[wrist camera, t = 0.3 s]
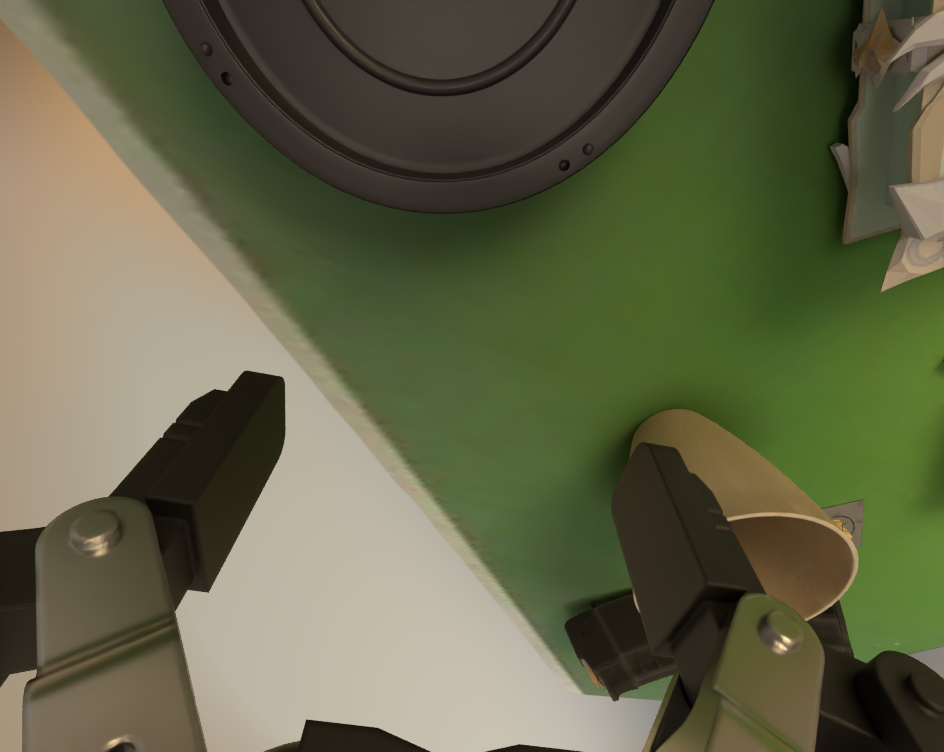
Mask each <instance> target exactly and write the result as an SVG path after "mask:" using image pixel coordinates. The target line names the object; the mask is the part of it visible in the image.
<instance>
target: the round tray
mask: <svg viewBox="0 0 944 752" xmlns="http://www.w3.org/2000/svg"><path fill="white" fill-rule="evenodd" d="M162 1H163V3H164V5H165V7H166V9H167V11H168V13H169V15H170V17H171V18H172V20H173V22H174V24H175V26H176V27H177V29H178V31H179V33H180V34H181V36H182V38H183V39H184V41H185V43H186V44H187V46H188V48H189V49H190V51H191V52H192V54H193V55H194V57H195V58H196V60H197V61H198V63H199V64H200V66H201V67H202V69H203V70H204V72H205V73H206V74H207V76H208V77H209V78H210V80H211V81H212V82H213V84H214V85H215V86H216V88H217V89H218V90H219V91H220V92H221V94H222V95H223V96H224V97H225V99H226V100H227V101H228V102H229V103H230V104H231V106H232V107H233V108H234V109H235V110H236V111H237V112H238V113H239V114H240V116H241V117H242V118H243V119H244V120H245V121H246V122H247V123H248V124H249V125H250V126H251V127H252V128H253V129H254V130H255V131H256V132H257V133H258V134H259V135H260V136H262V137H263V138H264V139H265V140H266V141H267V142H268V143H269V144H271V145H272V146H273V147H274V148H275V149H277V150H278V151H279V152H280V153H282V154H283V155H284V156H285V157H287V158H288V159H289V160H291V161H292V162H293V163H295V164H296V165H298V166H299V167H301V168H302V169H304V170H305V171H307V172H308V173H310V174H312V175H313V176H315V177H316V178H318V179H320V180H322V181H324V182H325V183H327V184H329V185H331V186H333V187H335V188H337V189H339V190H341V191H343V192H346V193H348V194H350V195H353V196H355V197H358V198H360V199H363V200H366V201H369V202H372V203H375V204H378V205H382V206H386V207H390V208H394V209H399V210H404V211H411V212H419V213H430V214H457V213H469V212H477V211H483V210H489V209H493V208H497V207H501V206H505V205H509V204H512V203H515V202H518V201H521V200H524V199H526V198H529V197H531V196H534V195H536V194H539V193H541V192H543V191H545V190H547V189H549V188H551V187H553V186H555V185H557V184H559V183H561V182H562V181H564V180H566V179H567V178H569V177H571V176H572V175H574V174H575V173H577V172H579V171H580V170H582V169H583V168H584V167H586V166H587V165H589V164H590V163H591V162H593V161H594V160H595V159H597V158H598V157H599V156H600V155H602V154H603V153H604V152H605V151H606V150H608V149H609V148H610V147H611V146H612V145H613V144H614V143H616V142H617V141H618V140H619V139H620V138H621V137H622V136H623V135H624V134H625V133H626V132H627V131H628V130H629V129H630V128H631V127H632V126H633V125H634V124H635V123H636V122H637V121H638V120H639V118H640V117H641V116H642V115H643V114H644V113H645V112H646V110H647V109H648V108H649V107H650V106H651V104H652V103H653V102H654V101H655V99H656V98H657V97H658V96H659V94H660V93H661V92H662V90H663V89H664V88H665V86H666V85H667V83H668V82H669V81H670V79H671V78H672V76H673V75H674V73H675V72H676V70H677V69H678V67H679V66H680V64H681V63H682V61H683V59H684V58H685V56H686V54H687V53H688V51H689V49H690V48H691V46H692V44H693V42H694V41H695V39H696V37H697V35H698V33H699V31H700V29H701V28H702V26H703V24H704V22H705V20H706V18H707V16H708V14H709V11H710V9H711V7H712V5H713V3H714V1H715V0H162Z"/></svg>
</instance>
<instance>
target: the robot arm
mask: <svg viewBox="0 0 944 752" xmlns="http://www.w3.org/2000/svg"><path fill="white" fill-rule="evenodd" d="M284 440H285V382H284V379H283V378H282V377H280V376H274V375H269V374H263V373H257V372H251V371H244V372H243V373H242V374H241V375H240V376H239V378H238V379H237V380H236V381H235V383H234V384H233V385H232V387H231V388H230V389H229V390H228V391H222V390H216V389H214V390H212V391H210V392H209V393H207V394H205V395H204V396H202V397H200V398H198V399H196V400H194V401H193V402H191V403H190V404H189V406H187V408H186V409H185V410H184V411H183V412H182V413H181V414H180V416H179V417H178V418H177V419H176V423H173V424H172V425H171V426H170V427H169V428H168V429H167V431H166V432H165V433H164V436H163V438H160V439H159V440H158V441H157V442H156V443H155V444H154V445H153V447H152V448H151V449H150V450H149V451H148V452H147V453H146V455H145V456H144V457H143V458H142V459H141V460H140V461H139V463H138V464H137V465H136V466H135V467H134V468H133V470H132V471H131V472H130V473H129V474H128V475H127V476H126V477H125V479H124V480H123V481H122V482H121V483H120V484H119V485H118V487H117V488H116V489H115V490H114V491H113V492H112V493H111V494H110V496H108V497H104V498H98V499H94V500H90V501H87V502H84V503H81V504H79V505H77V506H74V507H73V508H71V509H69V510H67V511H65V512H64V513H62V514H61V515H59V516H58V517H56V518H55V519H54V520H53V521H52V522H50V523H49V524H48V525H47V527H41V528H34V529H24V530H15V531H5V532H0V687H1V686H2V684H3V683H4V681H5V680H6V679H7V677H8V676H9V674H14V673H19V672H25V671H30V670H35V669H37V675H36V677H35V678H34V679H31V680H29V681H28V682H27V684H26V687H25V690H24V696H23V711H22V713H23V714H22V716H23V717H22V723H23V724H22V725H23V726H22V736H23V737H22V752H207V748H206V743H205V739H204V735H203V731H202V727H201V722H200V718H199V713H198V709H197V705H196V700H195V696H194V692H193V688H192V683H191V679H190V674H189V670H188V666H187V662H186V657H185V653H184V648H183V644H182V640H181V635H180V631H179V627H178V622H177V618H176V613H175V611H176V609H177V607H178V606H179V604H180V602H181V600H182V599H183V597H184V595H185V593H186V592H187V590H194V591H201V592H208V593H209V591H210V589H211V587H212V585H213V583H214V581H215V579H216V577H217V575H218V574H219V572H220V570H221V568H222V566H223V564H224V562H225V560H226V558H227V556H228V554H229V553H230V551H231V549H232V547H233V545H234V543H235V541H236V539H237V537H238V535H239V534H240V532H241V530H242V528H243V526H244V524H245V522H246V520H247V518H248V517H249V515H250V513H251V511H252V509H253V507H254V505H255V503H256V501H257V499H258V498H259V496H260V494H261V492H262V490H263V488H264V486H265V484H266V482H267V480H268V479H269V476H270V474H271V473H272V471H273V469H274V467H275V465H276V463H277V461H278V459H279V457H280V455H281V452H282V448H283V445H284ZM612 515H613V519H614V522H615V526H616V529H617V533H618V536H619V540H620V544H621V547H622V551H623V554H624V558H625V561H626V565H627V569H628V572H629V576H630V579H631V583H632V586H633V590H634V594H635V597H636V601H637V604H638V608H639V611H640V615H641V619H642V622H643V626H644V629H645V633H646V636H647V640H648V644H649V647H650V651H651V654H652V655H654V656H661V657H668V658H675V661H676V664H677V667H678V671H677V672H676V673H675V675H674V676H673V677H672V679H671V682H670V684H669V686H668V689H667V691H666V694H665V696H664V699H663V701H662V704H661V706H660V709H659V711H658V714H657V716H656V719H655V721H654V724H653V726H652V729H651V731H650V734H649V736H648V739H647V741H646V744H645V746H644V748H643V751H642V752H944V679H943V678H942V677H940V676H939V675H938V674H937V673H936V672H935V671H933V670H932V669H930V668H929V667H928V666H926V665H925V664H923V663H922V662H920V661H918V660H916V659H915V658H913V657H910V656H908V655H906V654H904V653H900V652H897V651H884V652H881V653H880V654H878V655H877V656H876V657H874V658H873V659H872V660H871V661H869V662H868V663H864V662H862V661H860V660H858V659H855V658H853V657H851V656H849V655H846V654H844V653H842V652H839V651H837V650H835V649H833V648H830V647H828V646H826V645H824V644H821V642H820V640H819V638H818V636H817V635H816V633H815V632H814V630H813V629H812V627H811V626H810V625H809V624H808V623H807V622H806V620H805V619H804V618H803V617H802V616H801V615H800V614H798V613H797V612H796V611H795V610H794V609H792V608H791V607H790V606H788V605H787V604H785V603H784V602H782V601H780V600H778V599H776V598H774V597H772V596H769V595H767V594H766V592H765V590H764V588H763V586H762V584H761V582H760V581H759V579H758V577H757V575H756V573H755V571H754V569H753V567H752V565H751V564H750V562H749V560H748V558H747V556H746V554H745V552H744V550H743V548H742V547H741V545H740V543H739V541H738V539H737V537H736V535H735V533H734V532H731V529H732V528H731V526H730V524H729V522H728V520H727V518H726V516H723V511H722V509H721V507H720V505H719V503H718V501H717V499H716V497H715V496H714V494H713V492H712V491H711V490H710V489H709V488H708V487H707V486H706V485H705V483H704V482H703V481H702V480H701V479H700V478H699V477H698V476H697V475H696V474H695V473H689V471H688V469H687V467H686V465H685V463H684V461H683V459H682V457H681V455H680V453H679V451H678V450H677V449H676V448H674V447H669V446H663V445H658V444H652V443H646V442H641V443H639V444H638V445H637V446H636V448H635V450H634V452H633V454H632V455H631V457H630V459H629V461H628V463H627V465H626V467H625V469H624V471H623V473H622V475H621V477H620V479H619V481H618V483H617V485H616V487H615V489H614V492H613V496H612ZM264 752H430V751H428V750H426V749H423V748H421V747H419V746H417V745H415V744H412V743H410V742H408V741H406V740H403V739H401V738H399V737H397V736H394V735H392V734H390V733H388V732H386V731H383V730H381V729H379V728H374V727H366V726H357V725H349V724H340V723H331V722H322V721H314V720H306V723H305V726H304V730H303V733H302V737H301V741H297V742H292V743H288V744H284V745H281V746H278V747H275V748H273V749H269V750H267V751H264ZM487 752H580V751H571V750H563V749H555V748H546V747H538V746H529V745H520V744H519V745H515V746H510V747H505V748H501V749H496V750H491V751H487Z"/></svg>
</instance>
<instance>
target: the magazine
mask: <svg viewBox="0 0 944 752" xmlns="http://www.w3.org/2000/svg"><path fill="white" fill-rule="evenodd" d="M590 604H591V606H592V608H591V609H589V610H587V611H585V612H583V613H581V614H579V615H577V616H575V617H573V618H571V619H569V620H567V622H566V623H565V630H566V633H567V635H568V637H569V639H570V642H571V644H572V646H573V648H574V651H575V653H576V655H577V657H578V659H579V660H580V662H581V664H582V666H583V667H585V669H586V671H587V672H588V674H589V676H590V678H591V679H592V681H593V682H594V684H595V685H596V687H597V688H598V689H599V690H600V684H599V681H600V683H601V684H602V685H603V686H604V687H605V688H606V689H607V690H608V692H609V694H610V696H611V698H612V700H613V701H617V700H619V695H621V694H622V693H624V692H626V691H630V690H634V689H638V687H639V686H642V685H645V684H647V683H650V682H653V681H655V680H658V679H661V678H664V677H667V676H670V675H674V674H675V673H676V672H677V671H678V667H677V664H676V661H675V658H668V657H661V656H654V655H652V654H651V651H650V647H649V644H648V640H647V636H646V633H645V629H644V626H643V622H642V619H641V615H640V612H639V611H638V609H637V607H636V605H635V602H634V598H633V593H631V594H628V595H625V596H622V597H620V598H617V599H614V600H611V601H609V602H606V603H604V604H601V605H599V606H597V605H596V604H595V603H594V602H592V601H591V602H590ZM806 622H807V623H808V624H809V625H810V626H811V627H812V629H813V630H814V632H815V633H816V635H817V636H818V638H819V640H820V642H821V644H824V645H826V646H828V647H830V648H833V649H835V650H837V651H839V652H842V653H844V654H846V655H849V656H851V657H853V658H854V654H853V650H852V648H851V644H850V640H849V636H848V632H847V627H846V623H845V619H844V616H843V612H842V608H841V605H840V601H839V600H838V601H837V602H835V603H834V604H833V605H832V606H831V607H829V608H828V609H826V610H825V611H823V612H822V613H820V614H818V615H817V616H815V617H813V618H811V619H809V620H807V621H806Z"/></svg>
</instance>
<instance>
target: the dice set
mask: <svg viewBox="0 0 944 752" xmlns="http://www.w3.org/2000/svg"><path fill="white" fill-rule="evenodd" d="M833 521H834V522H835V523H836V524H837V525H838V526H839V527H840V528H841V529H842V531H843V532H844V533H845V534H846V535H847V536H848V537H849V538H850V539H852V538H853V536H852V534H851V533H850V532H849V531H848V529H847V528H846V527H845V525H844V524H843V523H842V522H841V521H840V520H835V519H834V520H833Z"/></svg>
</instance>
